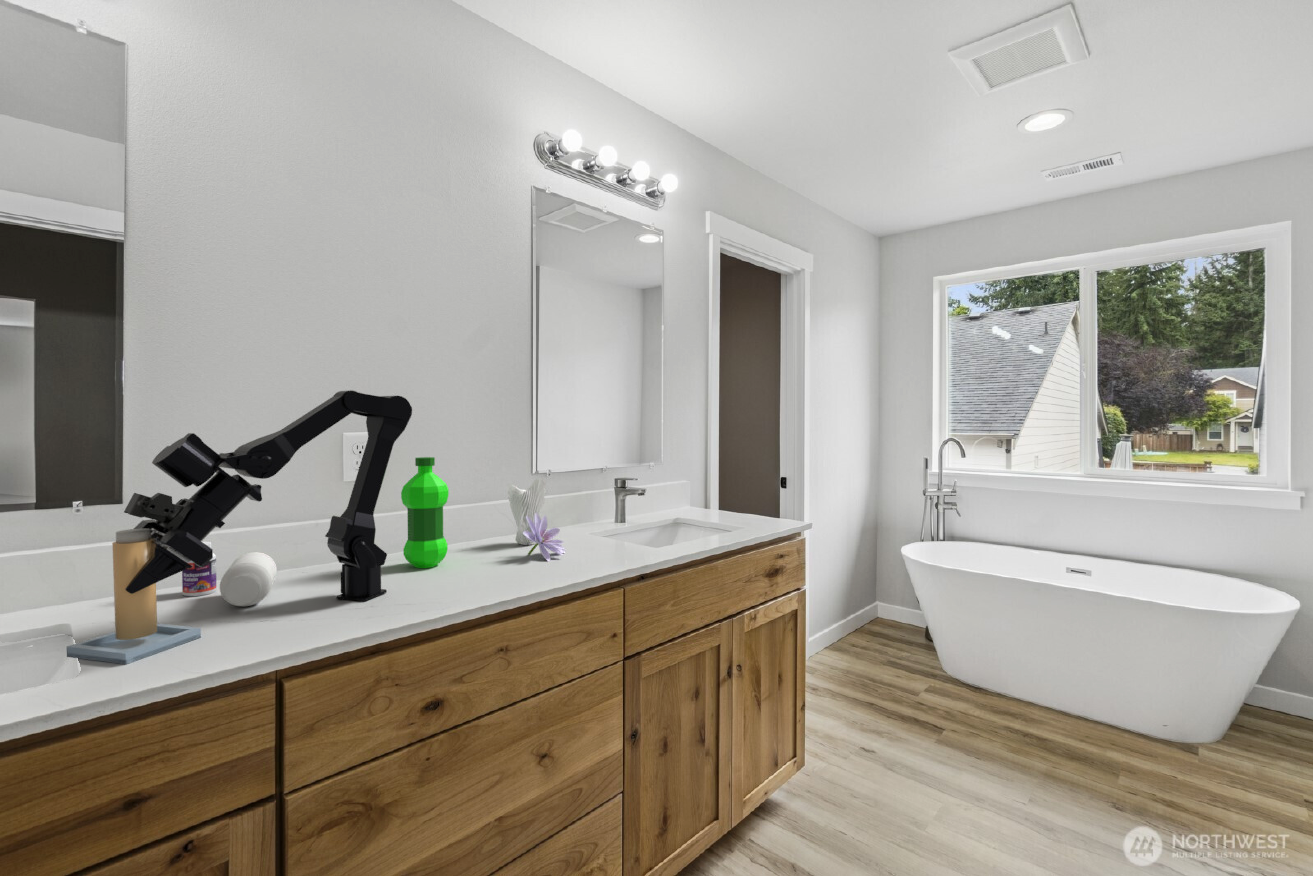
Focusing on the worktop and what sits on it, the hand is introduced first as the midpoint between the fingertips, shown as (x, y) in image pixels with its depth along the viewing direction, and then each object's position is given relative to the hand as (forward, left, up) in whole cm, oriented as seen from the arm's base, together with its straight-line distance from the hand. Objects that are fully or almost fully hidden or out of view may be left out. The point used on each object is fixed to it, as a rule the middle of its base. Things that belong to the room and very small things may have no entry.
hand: (123, 589), depth 92 cm
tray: (-1, -1, -9) cm, 9 cm away
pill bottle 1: (+17, -26, -9) cm, 33 cm away
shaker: (-1, -1, -7) cm, 7 cm away
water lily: (-35, -73, -9) cm, 81 cm away
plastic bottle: (-12, -57, -9) cm, 59 cm away
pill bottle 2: (+8, -30, -5) cm, 31 cm away
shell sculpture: (-24, -85, -9) cm, 89 cm away
